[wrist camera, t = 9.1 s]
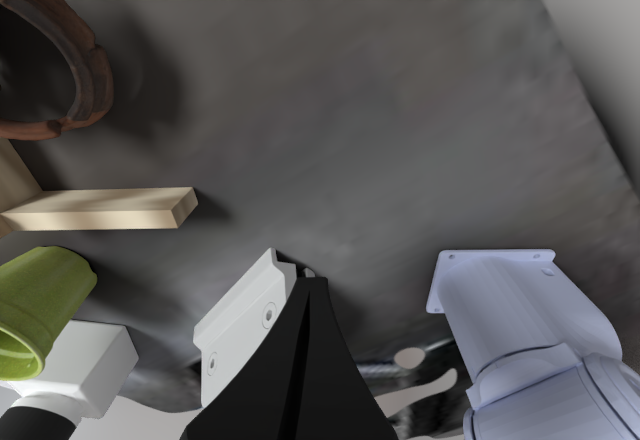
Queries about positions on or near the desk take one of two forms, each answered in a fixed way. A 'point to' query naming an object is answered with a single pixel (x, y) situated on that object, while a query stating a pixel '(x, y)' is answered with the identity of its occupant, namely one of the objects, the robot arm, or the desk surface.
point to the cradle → (83, 203)
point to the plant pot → (38, 306)
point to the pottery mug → (85, 63)
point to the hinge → (242, 321)
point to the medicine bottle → (71, 382)
